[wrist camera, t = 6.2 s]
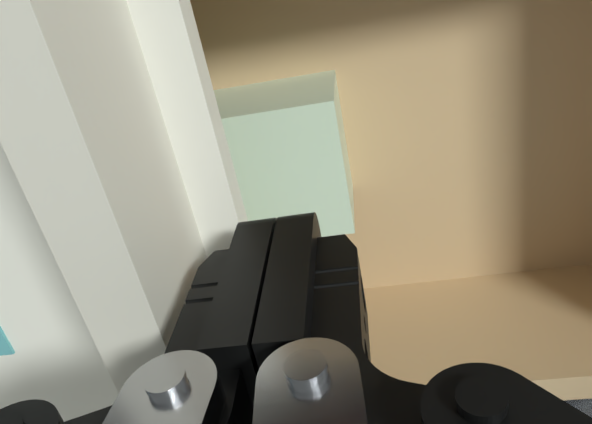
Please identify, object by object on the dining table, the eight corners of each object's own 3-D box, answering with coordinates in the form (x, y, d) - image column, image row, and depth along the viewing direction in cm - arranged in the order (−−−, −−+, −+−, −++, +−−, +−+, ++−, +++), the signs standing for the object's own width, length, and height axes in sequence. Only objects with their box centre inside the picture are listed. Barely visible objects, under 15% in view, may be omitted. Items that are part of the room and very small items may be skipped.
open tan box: (683, -212, 12) (889, -284, 8) (627, 268, 18) (722, 388, 14) (-39, -49, 15) (-206, -30, 10) (121, 322, 21) (60, 436, 16)
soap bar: (335, 69, 15) (333, 101, 13) (352, 185, 17) (354, 233, 14) (163, 98, 16) (131, 133, 13) (197, 206, 17) (173, 255, 15)
